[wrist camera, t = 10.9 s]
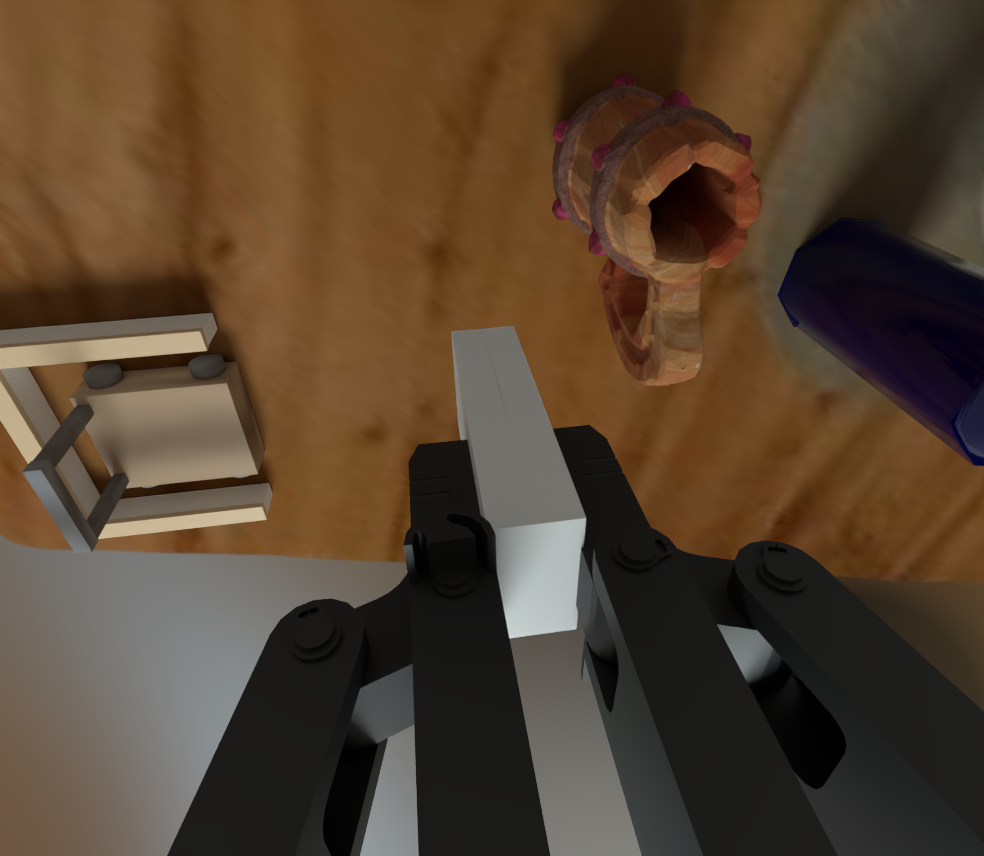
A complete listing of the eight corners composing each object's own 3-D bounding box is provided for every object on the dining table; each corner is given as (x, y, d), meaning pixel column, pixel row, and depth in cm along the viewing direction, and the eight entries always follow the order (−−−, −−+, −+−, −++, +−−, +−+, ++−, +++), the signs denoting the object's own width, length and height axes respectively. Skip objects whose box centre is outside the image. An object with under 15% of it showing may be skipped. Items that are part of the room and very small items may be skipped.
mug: (541, 71, 34) (623, 108, 22) (676, 63, 35) (828, 93, 23) (539, 306, 43) (597, 425, 31) (648, 295, 43) (746, 407, 31)
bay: (-16, 329, 38) (-44, 351, 36) (211, 311, 40) (200, 331, 37) (93, 514, 48) (77, 541, 45) (272, 494, 49) (266, 519, 47)
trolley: (84, 363, 41) (7, 452, 32) (233, 350, 42) (195, 433, 33) (137, 469, 46) (83, 568, 38) (267, 456, 47) (242, 549, 39)
